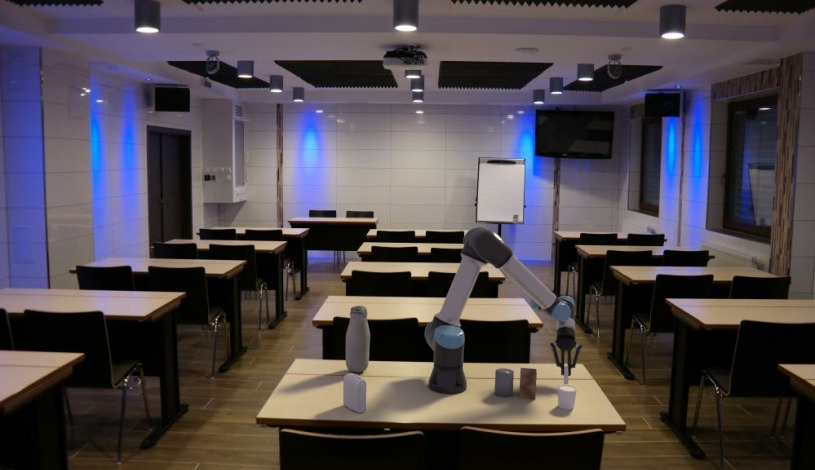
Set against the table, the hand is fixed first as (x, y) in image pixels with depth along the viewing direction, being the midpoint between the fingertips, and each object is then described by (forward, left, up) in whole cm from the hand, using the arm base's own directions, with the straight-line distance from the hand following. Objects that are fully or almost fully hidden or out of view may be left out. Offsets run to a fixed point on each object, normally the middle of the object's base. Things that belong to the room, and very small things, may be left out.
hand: (566, 382), depth 252 cm
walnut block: (-15, -10, -3) cm, 18 cm away
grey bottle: (-85, +1, -3) cm, 85 cm away
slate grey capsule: (-24, -10, -3) cm, 26 cm away
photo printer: (-76, -38, -3) cm, 85 cm away
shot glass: (-1, -17, -3) cm, 18 cm away
